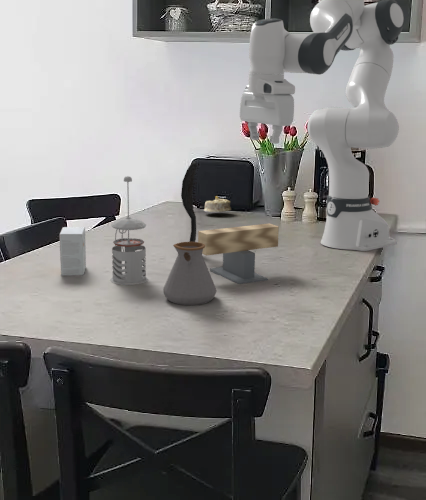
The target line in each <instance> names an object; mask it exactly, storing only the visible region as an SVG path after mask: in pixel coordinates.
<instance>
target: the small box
mask: <svg viewBox="0 0 426 500" xmlns="http://www.w3.org/2000/svg"><path fill="white" fill-rule="evenodd" d="M86 248H87V247H86V227H84V226H69V227H68V226H64V227H63V226H62V228H61V230H60V232H59V253H60V254H59V255H60V256H59V257H60V259H59V260H60V276H84V274H85V272H86V268H87V254H86V253H87V252H86V251H87V250H86Z"/></svg>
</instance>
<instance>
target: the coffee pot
mask: <svg viewBox="0 0 426 500" xmlns="http://www.w3.org/2000/svg"><path fill="white" fill-rule="evenodd" d="M173 247H174V249H175V251H176V252H177V256H176V259H175V261H174V263H173V266H172V268H171V270H170V272H169V274H168V277H167V279H166V282H165V284H164V286H163V288H162V291H163V295H164V297H165V299H167V301H169V302H171V303H173V304H175V305H182V306H198V305H199V306H200V305H203V304H207V303H209V302H211V301H212V300H213V299H214V298H215V296H216V294H217V288H216V285H215V282H214V280H213V278H212V276H211V274H210V269H209V268H208V266H207V264H206V261H205V258H204V255H203V254H202V252H203V248H205V244H203V243H199V242H198V241H195V242H189V241H181V242H177V243H174V244H173Z"/></svg>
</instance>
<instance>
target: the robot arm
mask: <svg viewBox="0 0 426 500" xmlns="http://www.w3.org/2000/svg"><path fill="white" fill-rule="evenodd" d="M309 17H310V18H309V23H310V24H309V25H310V27H311V30H312V33H290V32H289V31H287V30H286V29H285V27H284V25H285V24H284V20H282V19H280V18H273V17H272V18H263V19H259V20H256V21H255V22H253V24H252V26H251V30H250V34H249V35H250V36H249V45H248V46H249V47H248V56H249V57H248V58H249V61H250V66H249V69H248V80H247V81H248V83H247V84H248V85H246V86H245V88H244V89H243V93H241V98H240V104H239V105H240V107H239V118H240V121H242V122H247V127H248V130H249V133H250V136H249V137H250V140H251V141H259V139H260V132H258V124H264V125H270V126H272V127H271V129H272V130H273V131H272V133H271V134H272V135H270V136H269V139H270V140H269V142H270V143H271V144H275V145H277V144H279V143H280V136H281V135H282V133H283V127H288V126H291V125H292V123H293V121H294V118H295V117H294V116H295V99H294V96H293V95H295V93H296V86H295V85H294V84H292V83H291V82H290V81H288V80H287V79H285V73H291V74H292V73H293V74H295V73H296V74H302V73H303V74H311V75H312V74H313V75H317V76H318V75H322V74H325V73H326V72H327V71H328V70H329V69H330V68H331V66H332V65H333V63H334V60H335V58H336V56H337V55H338V53H339V52H340V51H347V52H348V51H354V50H356V49H359V56H358V57H357V59H356V61H355V63H354V65H353V68H352V71H351V73H350V76H349V78H348V82H347V84H346V87H345V96H346V99H347V100H348V102H349V103H350V104H351V105H352V106H353V107H342V106H341V107H338V106H329V107H328V106H327V107H323V108H318V109H315V110H314V111H313V112H312V113H311V114H310V116H309V118H308V121H307V133H308V136H309V138H310V140H311V141H312V142H313V143H314V144H315V145H317V146H318V148H319V149H320V150H321V152H322V153H323V155H324V158H325V159H326V164H327V167H328V181H329V182H328V195H327V196H326V220H325V224H324V230H323V234H322V237H321V240H320V244H321V245H322V246H325V247H329V248H333V249H339V250H352V251H353V250H354V251H362V252H369V251H373V250H377V249H382V248H385V247H390V246H395V245H398V241H397V239H395V238H393V237H391V236H390V226H389V224H388V222H387V221H386V220H385V219H384V218H383V217H382V216H380V215H379V214H378V213H377V212H376V211H375V210H374V209H373V206H372V205H374V206H378V205H379V203H380V199H379V198H377V197H369V184H370V183H369V182H370V171H369V169H368V166H366V165H365V164H364V163H363V162H362V161H360V160H358V159H356V157H355V156H354V154H353V152H352V148H353V149H367V150H368V149H370V150H375V149H383V148H389V147H391V146H392V145H393V144H394V143H395V141H396V140H397V138H398V135H399V132H400V131H399V130H400V126H399V121H398V119H397V116H395V114H394V113H393V112H392V111H391V110H390V109H388V108H387V107H386V104H385V95H386V92H387V89H388V85H389V83H390V80H391V76H392V71H393V67H394V58H395V57H394V53H393V50H392V48H391V45H394V44H395V43H396V42H397V41H398V40H399V36H400V34H401V33H402V31H403V27H404V24H405V13H404V11H403V8H402V6H401V5H400V3H398V2H397V1H396V0H379V1H378V2H373V3H369V4H366V5H365V1H364V0H320V1H319V2H318V3H316V5H314V7H313V9H312V11H311V12H310V15H309Z"/></svg>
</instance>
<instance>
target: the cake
mask: <svg viewBox="0 0 426 500" xmlns="http://www.w3.org/2000/svg"><path fill="white" fill-rule="evenodd" d="M231 210H232V207H231V200H228V199H227V198H226V199H224V198H220V197H219V196H218V195H216V196H215V199H213V200H206V201H205V203H204V209H203V211H204V212H206V213H223V212H230V211H231Z"/></svg>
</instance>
